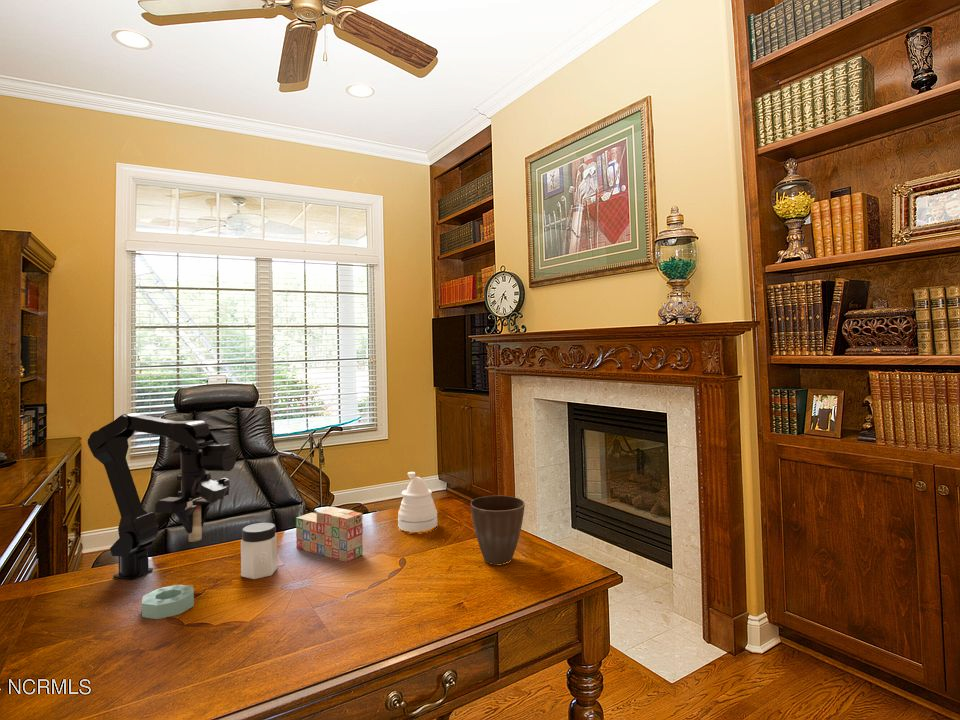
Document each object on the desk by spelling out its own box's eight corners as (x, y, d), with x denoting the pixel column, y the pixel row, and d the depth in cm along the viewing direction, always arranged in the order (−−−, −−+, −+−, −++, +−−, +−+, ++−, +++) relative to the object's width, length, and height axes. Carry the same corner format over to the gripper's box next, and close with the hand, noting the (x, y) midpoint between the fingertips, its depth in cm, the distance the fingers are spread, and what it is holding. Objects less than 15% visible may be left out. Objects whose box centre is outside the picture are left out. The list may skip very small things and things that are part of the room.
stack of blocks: (295, 548, 159) (295, 507, 158) (312, 542, 164) (311, 502, 164) (347, 562, 147) (346, 518, 147) (363, 555, 152) (362, 512, 152)
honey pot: (392, 532, 171) (392, 476, 171) (405, 520, 184) (404, 468, 184) (431, 534, 169) (431, 477, 169) (441, 521, 182) (440, 469, 182)
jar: (244, 582, 135) (243, 534, 135) (238, 571, 142) (237, 526, 141) (281, 573, 140) (280, 528, 140) (273, 564, 147) (273, 520, 146)
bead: (131, 615, 118) (131, 601, 118) (169, 595, 128) (169, 583, 128) (168, 620, 115) (167, 607, 115) (203, 600, 125) (203, 587, 125)
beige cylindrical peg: (185, 541, 137) (185, 508, 137) (195, 537, 140) (194, 504, 139) (195, 542, 136) (194, 508, 136) (204, 538, 139) (203, 505, 139)
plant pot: (536, 562, 145) (536, 504, 145) (492, 576, 136) (491, 513, 136) (503, 547, 157) (503, 492, 157) (460, 558, 149) (460, 501, 149)
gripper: (190, 480, 126) (191, 546, 126) (245, 464, 144) (246, 522, 144) (152, 478, 129) (154, 542, 129) (211, 462, 147) (212, 519, 147)
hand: (194, 531), depth 138 cm, fingers closed on beige cylindrical peg, 3 cm apart
